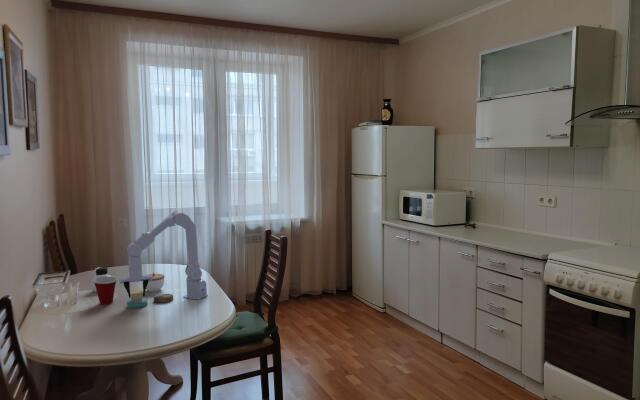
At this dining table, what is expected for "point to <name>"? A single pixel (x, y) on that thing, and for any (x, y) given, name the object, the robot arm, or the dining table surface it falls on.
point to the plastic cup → (105, 289)
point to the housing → (136, 296)
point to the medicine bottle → (100, 275)
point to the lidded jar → (155, 282)
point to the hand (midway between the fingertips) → (136, 296)
